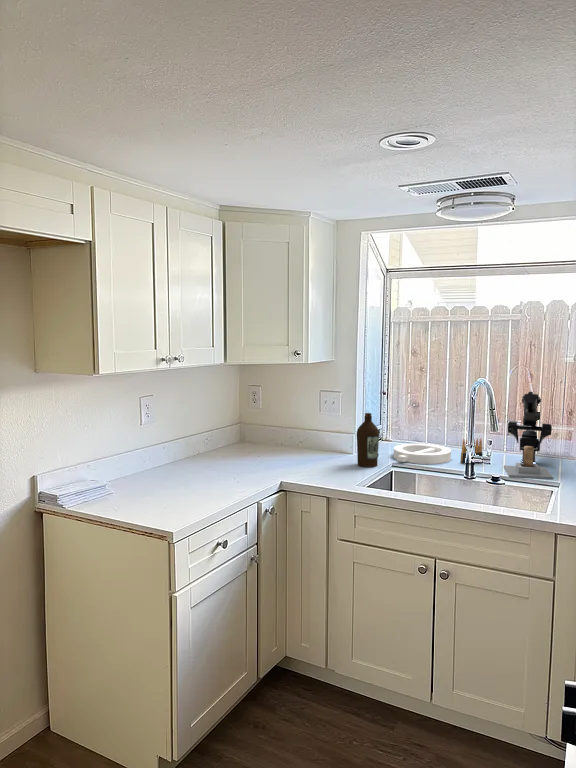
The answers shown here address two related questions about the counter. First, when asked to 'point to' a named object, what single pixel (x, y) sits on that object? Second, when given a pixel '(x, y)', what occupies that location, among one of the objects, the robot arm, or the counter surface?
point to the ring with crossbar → (422, 453)
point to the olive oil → (367, 443)
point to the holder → (528, 471)
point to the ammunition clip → (477, 449)
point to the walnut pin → (528, 456)
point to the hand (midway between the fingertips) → (528, 443)
